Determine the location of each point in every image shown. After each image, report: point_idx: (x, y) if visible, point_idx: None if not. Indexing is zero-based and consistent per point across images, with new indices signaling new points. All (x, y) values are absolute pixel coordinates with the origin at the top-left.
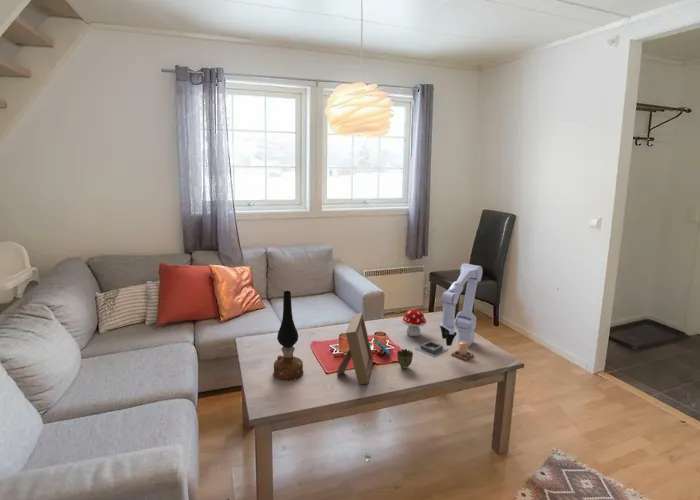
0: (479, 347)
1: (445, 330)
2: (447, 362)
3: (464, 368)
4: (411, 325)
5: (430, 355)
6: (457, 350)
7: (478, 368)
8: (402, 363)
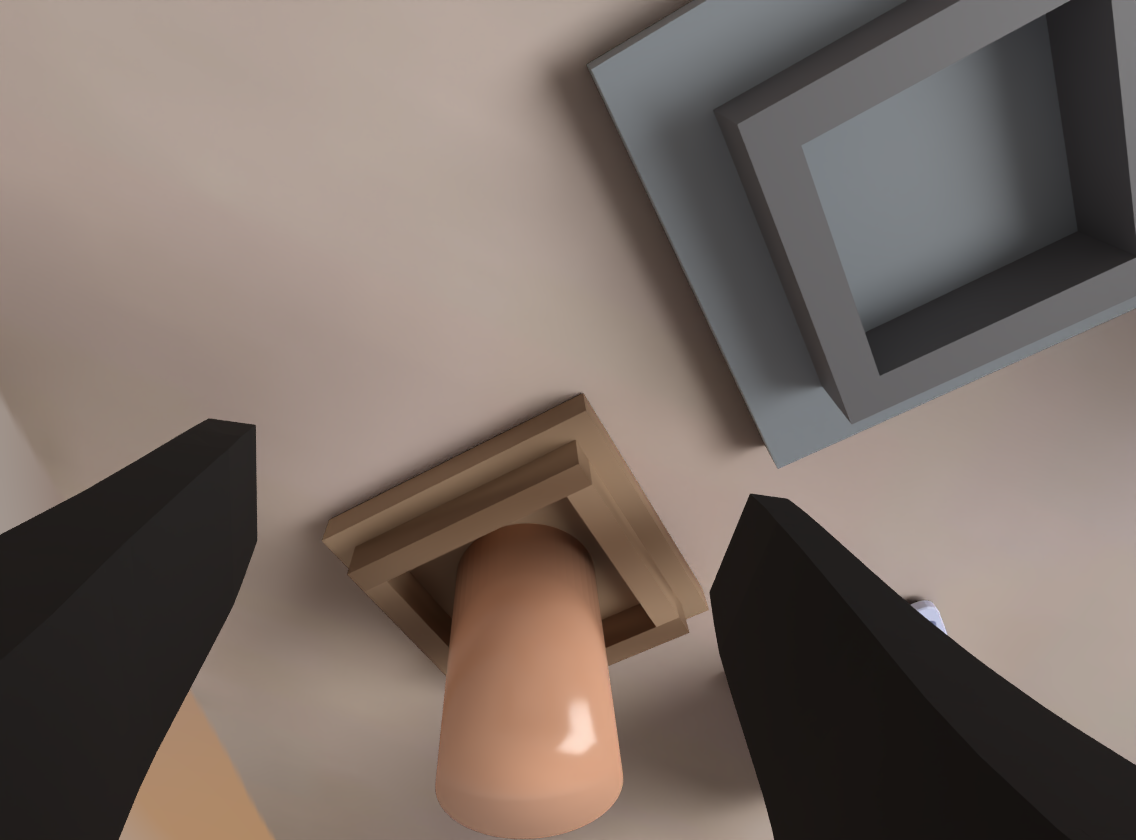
0: (722, 799)
1: (847, 828)
2: (406, 279)
3: None
4: None
5: (683, 13)
6: (649, 580)
7: None
8: None
